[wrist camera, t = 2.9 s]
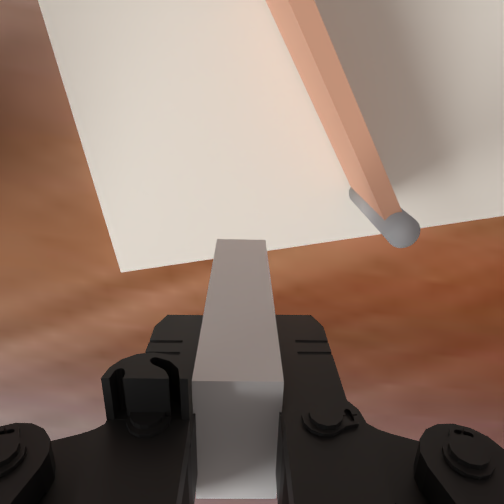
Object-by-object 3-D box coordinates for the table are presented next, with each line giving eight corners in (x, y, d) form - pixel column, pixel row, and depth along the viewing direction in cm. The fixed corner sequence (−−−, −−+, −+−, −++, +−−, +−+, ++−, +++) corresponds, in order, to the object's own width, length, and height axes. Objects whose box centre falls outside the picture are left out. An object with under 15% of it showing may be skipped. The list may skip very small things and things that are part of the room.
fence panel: (243, -33, 19) (244, -84, 13) (269, -50, 19) (283, -111, 13) (354, 208, 24) (393, 253, 18) (377, 196, 23) (424, 238, 17)
